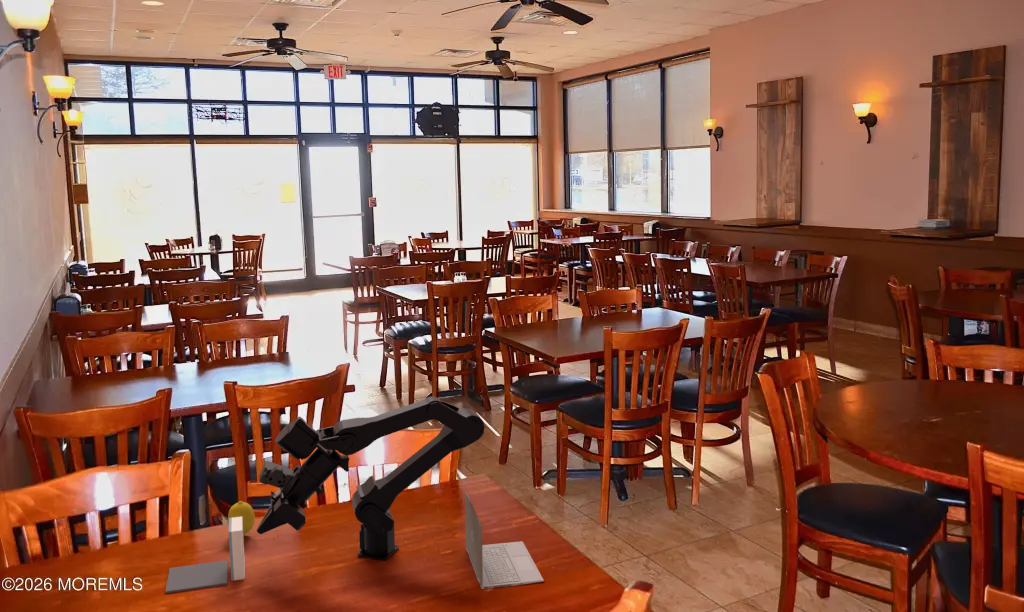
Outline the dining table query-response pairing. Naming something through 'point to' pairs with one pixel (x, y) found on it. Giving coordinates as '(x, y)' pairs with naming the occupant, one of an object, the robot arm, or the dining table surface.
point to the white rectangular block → (236, 548)
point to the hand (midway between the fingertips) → (258, 532)
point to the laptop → (497, 557)
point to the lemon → (243, 515)
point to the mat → (197, 576)
